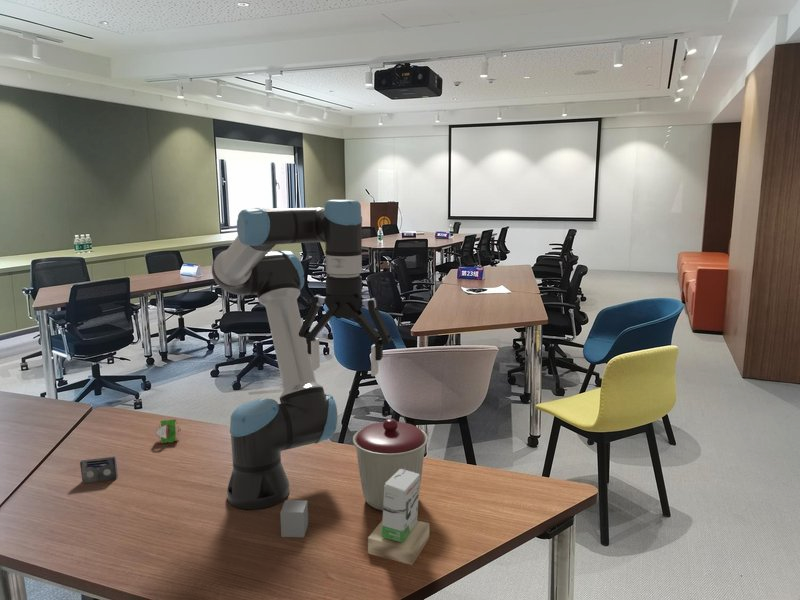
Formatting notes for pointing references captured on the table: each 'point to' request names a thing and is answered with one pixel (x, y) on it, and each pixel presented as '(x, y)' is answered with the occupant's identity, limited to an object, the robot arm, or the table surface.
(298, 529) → the grey block
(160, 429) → the geometric puzzle
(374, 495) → the canister
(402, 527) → the ink box
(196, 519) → the table surface
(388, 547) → the oak block
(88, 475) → the mini dv tape
